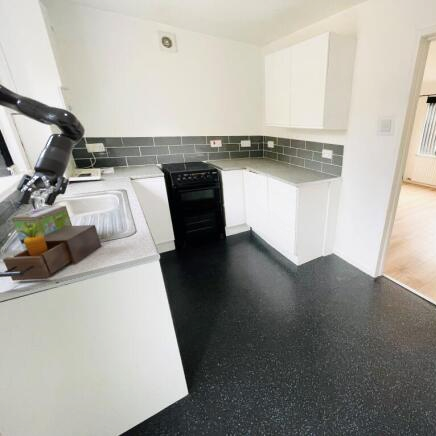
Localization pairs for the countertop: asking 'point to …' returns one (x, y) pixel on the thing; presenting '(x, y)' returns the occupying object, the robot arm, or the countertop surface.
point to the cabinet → (76, 240)
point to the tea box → (42, 221)
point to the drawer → (36, 263)
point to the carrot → (34, 241)
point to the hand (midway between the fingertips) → (35, 204)
